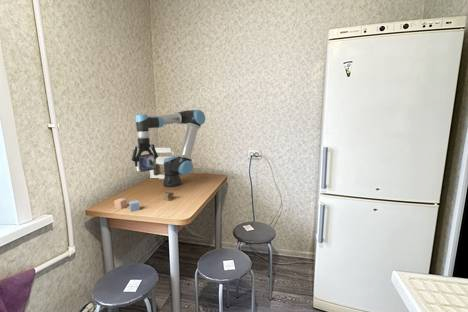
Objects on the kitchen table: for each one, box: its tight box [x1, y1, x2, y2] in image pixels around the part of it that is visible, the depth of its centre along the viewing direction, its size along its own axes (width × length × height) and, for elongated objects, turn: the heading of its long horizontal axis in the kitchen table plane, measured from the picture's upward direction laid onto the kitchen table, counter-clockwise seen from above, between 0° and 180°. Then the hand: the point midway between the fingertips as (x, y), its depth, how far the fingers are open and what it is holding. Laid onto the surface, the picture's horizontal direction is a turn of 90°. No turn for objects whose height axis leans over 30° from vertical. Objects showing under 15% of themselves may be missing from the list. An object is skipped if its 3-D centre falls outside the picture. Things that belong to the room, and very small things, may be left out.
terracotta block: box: [113, 198, 128, 210], centre depth 157 cm, size 5×5×5 cm
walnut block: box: [162, 191, 175, 202], centre depth 170 cm, size 5×5×5 cm
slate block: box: [128, 199, 140, 212], centre depth 153 cm, size 5×5×5 cm
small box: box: [138, 153, 155, 173], centre depth 169 cm, size 11×6×10 cm, turn 139°
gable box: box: [149, 147, 177, 180], centre depth 229 cm, size 22×13×28 cm, turn 81°
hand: (146, 169), depth 170 cm, fingers closed on small box, 11 cm apart
